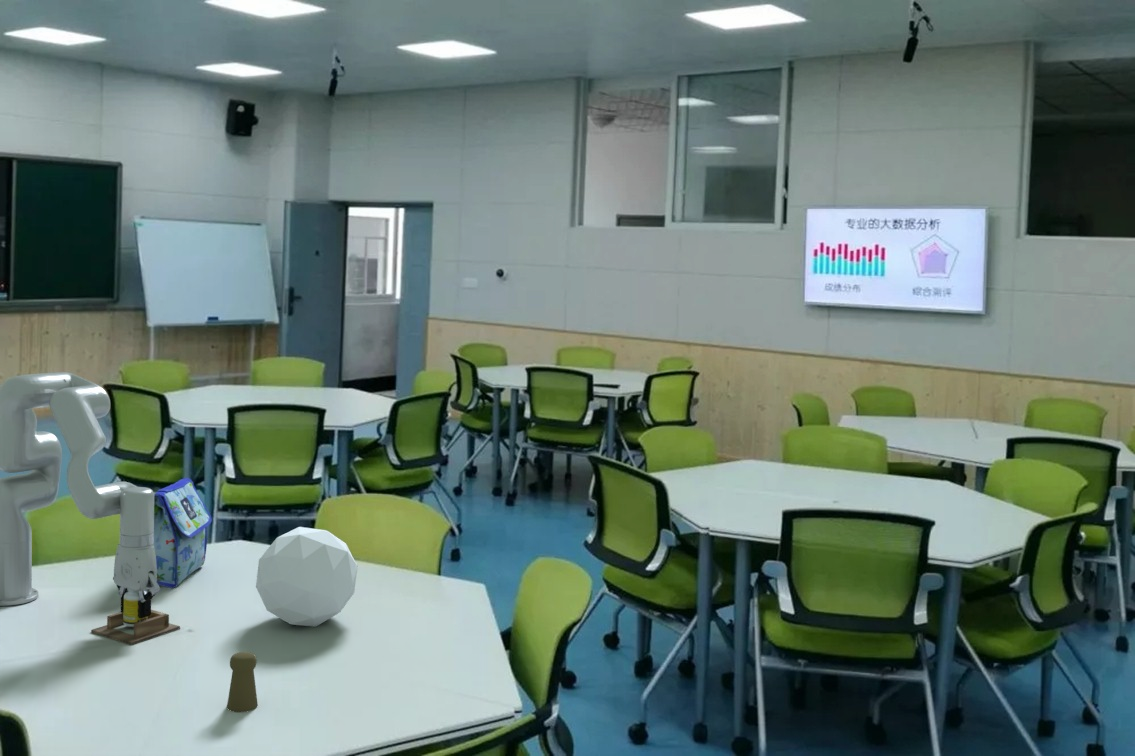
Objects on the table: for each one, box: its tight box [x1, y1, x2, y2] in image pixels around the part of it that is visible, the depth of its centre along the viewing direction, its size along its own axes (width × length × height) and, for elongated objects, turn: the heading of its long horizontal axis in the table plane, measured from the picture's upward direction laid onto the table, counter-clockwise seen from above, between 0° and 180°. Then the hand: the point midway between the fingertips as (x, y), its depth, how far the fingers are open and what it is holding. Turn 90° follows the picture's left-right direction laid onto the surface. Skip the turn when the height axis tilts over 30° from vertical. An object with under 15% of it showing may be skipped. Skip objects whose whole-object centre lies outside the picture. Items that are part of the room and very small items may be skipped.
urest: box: [90, 609, 181, 646], centre depth 262 cm, size 14×14×4 cm
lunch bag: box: [153, 477, 213, 589], centre depth 304 cm, size 22×17×26 cm
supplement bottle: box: [123, 588, 148, 627], centre depth 261 cm, size 5×5×10 cm
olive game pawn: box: [226, 651, 259, 713], centre depth 222 cm, size 6×6×11 cm
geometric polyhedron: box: [255, 526, 358, 627], centre depth 273 cm, size 24×25×25 cm
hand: (135, 613), depth 261 cm, fingers closed on supplement bottle, 5 cm apart
